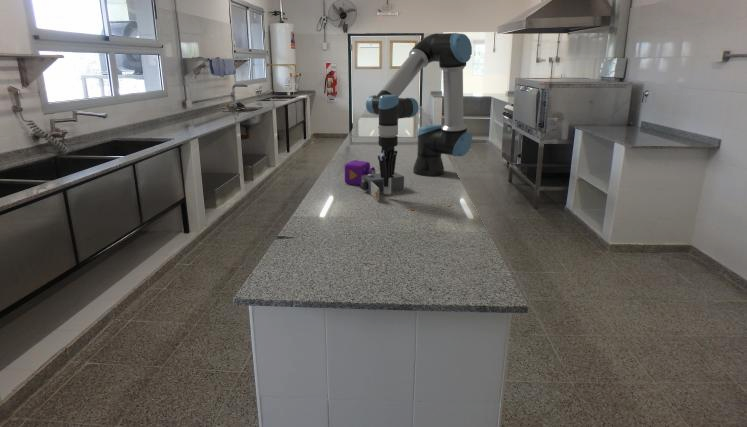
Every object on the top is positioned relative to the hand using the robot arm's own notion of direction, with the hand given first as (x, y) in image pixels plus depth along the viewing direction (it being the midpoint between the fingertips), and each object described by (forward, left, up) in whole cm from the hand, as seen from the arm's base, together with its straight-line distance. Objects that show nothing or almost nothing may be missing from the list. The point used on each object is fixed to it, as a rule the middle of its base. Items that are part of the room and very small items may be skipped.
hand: (387, 193), depth 199 cm
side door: (+5, -2, -2) cm, 6 cm away
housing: (-4, -13, -2) cm, 14 cm away
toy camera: (0, -26, -2) cm, 26 cm away
